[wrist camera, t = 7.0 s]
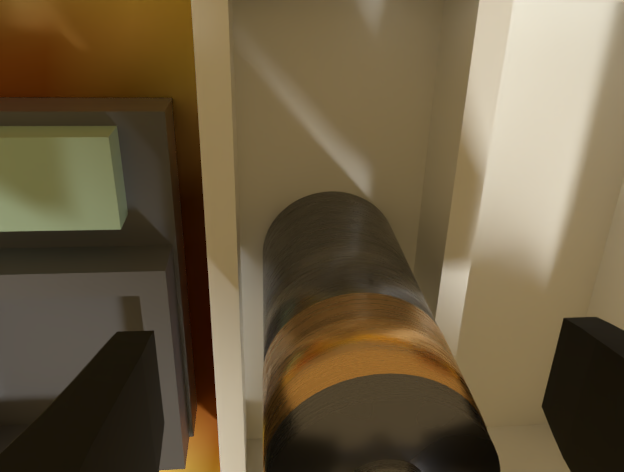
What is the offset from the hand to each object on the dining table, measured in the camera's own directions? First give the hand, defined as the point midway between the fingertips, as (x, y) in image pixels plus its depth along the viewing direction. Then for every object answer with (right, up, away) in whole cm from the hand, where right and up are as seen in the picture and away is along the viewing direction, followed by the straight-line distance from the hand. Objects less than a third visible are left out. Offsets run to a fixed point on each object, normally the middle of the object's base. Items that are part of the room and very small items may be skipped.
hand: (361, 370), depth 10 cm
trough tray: (+2, +2, +5) cm, 6 cm away
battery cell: (0, +2, +4) cm, 4 cm away
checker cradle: (-7, +1, +5) cm, 9 cm away
